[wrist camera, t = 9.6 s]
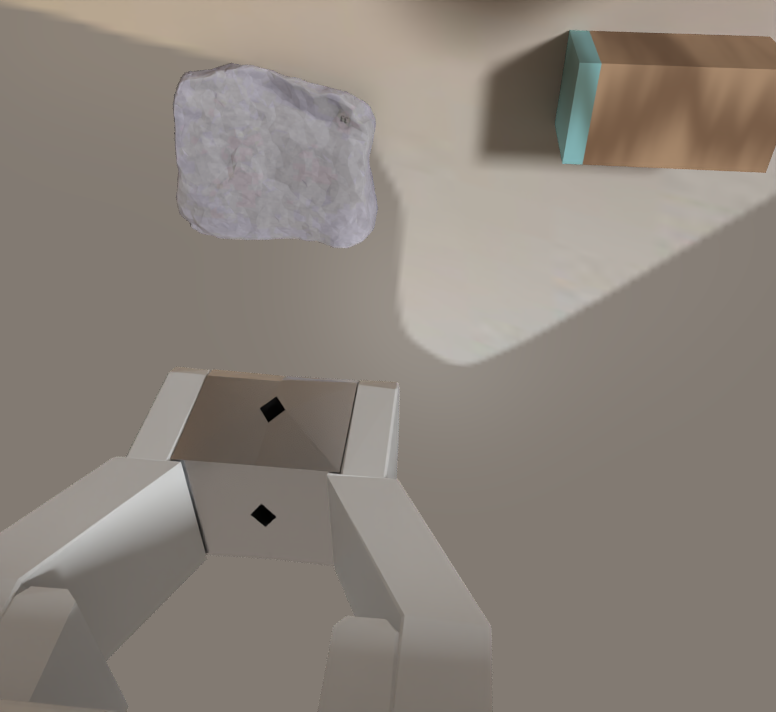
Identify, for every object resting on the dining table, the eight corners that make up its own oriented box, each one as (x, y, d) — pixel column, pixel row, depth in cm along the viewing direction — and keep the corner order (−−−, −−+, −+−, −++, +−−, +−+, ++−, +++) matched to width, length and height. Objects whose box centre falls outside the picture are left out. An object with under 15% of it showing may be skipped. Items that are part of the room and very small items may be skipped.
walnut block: (579, 62, 33) (803, 70, 33) (569, 30, 37) (769, 36, 37) (562, 163, 37) (765, 172, 36) (554, 124, 40) (738, 131, 40)
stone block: (181, 51, 42) (194, 217, 47) (153, 61, 38) (171, 243, 42) (385, 64, 42) (377, 230, 46) (380, 76, 37) (372, 257, 42)
